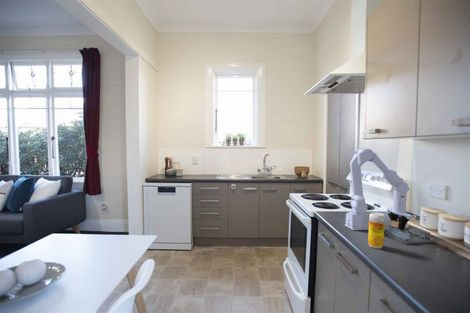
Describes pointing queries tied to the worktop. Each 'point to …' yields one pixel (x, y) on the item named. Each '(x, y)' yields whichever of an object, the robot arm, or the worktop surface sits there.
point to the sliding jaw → (399, 233)
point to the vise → (414, 236)
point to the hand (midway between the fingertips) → (397, 228)
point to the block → (396, 224)
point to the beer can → (376, 230)
